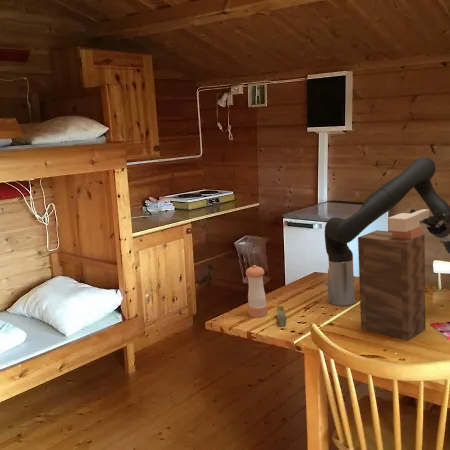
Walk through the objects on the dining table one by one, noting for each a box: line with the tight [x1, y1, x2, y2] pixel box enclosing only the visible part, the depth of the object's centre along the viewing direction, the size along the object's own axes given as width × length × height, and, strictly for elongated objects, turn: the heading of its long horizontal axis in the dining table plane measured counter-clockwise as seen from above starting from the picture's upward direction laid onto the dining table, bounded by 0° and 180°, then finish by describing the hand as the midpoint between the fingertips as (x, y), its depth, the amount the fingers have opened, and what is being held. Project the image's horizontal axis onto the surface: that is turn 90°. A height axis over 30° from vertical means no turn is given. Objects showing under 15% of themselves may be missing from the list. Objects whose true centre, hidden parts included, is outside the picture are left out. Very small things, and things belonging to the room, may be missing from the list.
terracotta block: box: [391, 225, 422, 240], centre depth 174 cm, size 7×6×3 cm
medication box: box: [275, 305, 287, 328], centre depth 198 cm, size 12×3×4 cm, turn 179°
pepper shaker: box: [245, 264, 268, 318], centre depth 206 cm, size 7×7×19 cm
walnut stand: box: [357, 229, 427, 342], centre depth 180 cm, size 12×17×32 cm
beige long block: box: [387, 208, 430, 232], centre depth 176 cm, size 20×6×4 cm, turn 135°
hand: (423, 212), depth 182 cm, fingers open, 8 cm apart
